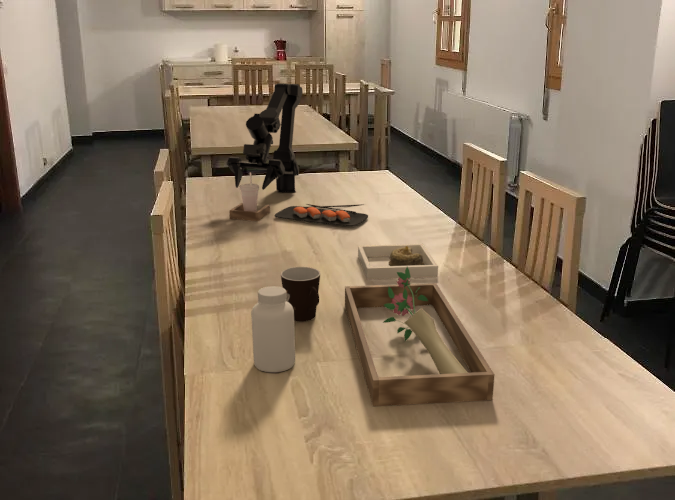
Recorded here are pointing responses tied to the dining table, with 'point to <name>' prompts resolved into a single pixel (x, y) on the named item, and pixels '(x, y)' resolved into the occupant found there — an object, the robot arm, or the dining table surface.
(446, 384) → the flower tray
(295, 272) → the coffee mug
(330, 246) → the dining table surface
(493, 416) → the dining table surface
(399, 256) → the brown round lump
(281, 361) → the pill bottle
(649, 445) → the dining table surface
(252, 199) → the smoothie
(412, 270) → the bagel tray
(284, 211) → the sushi plate
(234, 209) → the rest
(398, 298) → the flower vase
